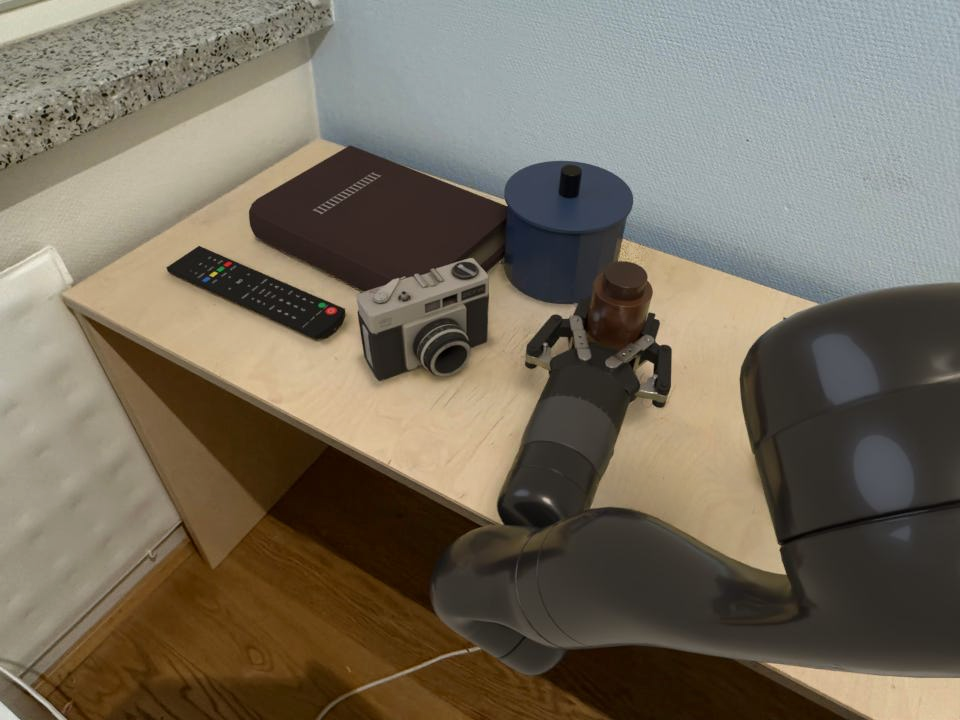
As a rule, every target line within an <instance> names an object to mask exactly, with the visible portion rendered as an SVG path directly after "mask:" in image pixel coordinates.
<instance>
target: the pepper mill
mask: <svg viewBox="0 0 960 720" xmlns="http://www.w3.org/2000/svg"><path fill="white" fill-rule="evenodd" d="M648 276H649V275H648V273H647V271H646V269H645V268H644V267H642V266H641V265H639V264H637V263H635V262H631V261H625V260H620V261H619V260H618V262H614V263H611V264H609V265H608V266H607V267H606V268H605V271H604V272H603V273H601V274H600V275H598V276H597V277H596V279H595V280H594V283H593V288H592V294H591V299H590V305H589V310H588V316H587V321H586V327H585V331H586V335H587V340H588V343H589V342H591V343H595V344H598V345H600V346H602V347H604V348H611V349H616V350H619V351H620V350H622V349H623V348H624V347H626V346H627V345H628V344H630V343H633V344H634V343H635V342H636V341H637V340H639V339H640V337H641V333H642V330H643V328H644V325H645V322H646V319H647V316H648V313H649V309H650V305H651V302H652V299H653V295H654V290H653V287H652V284H651V283H650V281H649V280H648V279H649V277H648Z"/></svg>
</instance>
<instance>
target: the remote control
mask: <svg viewBox="0 0 960 720" xmlns="http://www.w3.org/2000/svg"><path fill="white" fill-rule="evenodd" d="M165 268H166V270H167V272H168V273H169V274H170V275H173V276H176V277H177V278H180V279H181V280H184V281H186V282H189V283H190V284H193V285H195V286H197V287H199V288H201V289H204V290H205V291H208V292H211V293H212V294H213V295H217V296H219V297H221V298H223V299H226V300H228V301H230V302H231V303H235V305H236V304H237V305H238V306H241V307H242V308H245V309H247V310H249V311H252V312H254V313H256V314H258V315H260V316H262V317H265V318H267V319H269V320H271V321H273V322H275V323H277V324H279V325H282V326H284V327H286V328H288V329H290V330H293V331H294V332H296V333H299V334H302V335H303V336H306V337H308V338H310V339H311V340H315V341H319V340H320V341H321V340H324V339H328V338H329V337H331V336H333V335H334V334H336V332H337V331H338V330H339V329H340V328H341V326H342V325H343V322H344V318H345V316H346V309H345V308H344V307H342V306H340V305H337V304H336V303H333V302H330V301H328V300H326V299H323V298H321V297H319V296H316V295H313V294H312V293H309V292H307V291H304V290H303V289H300V288H298V287H295V286H294V285H290V284H288V283H286V282H284V281H281V280H280V279H277V278H274V277H273V276H270V275H268V274H265V273H263V272H261V271H259V270H257V269H253V268H251V267H249V266H247V265H244V264H242V263H240V262H238V261H235V260H233V259H230V258H228V257H226V256H223V255H221V254H220V253H217V252H214V251H212V250H209V249H207V248H205V247H202V245H201V246H200V245H197V247H195V248H193V249H192V250H190V251H188V253H186V254H184V255H183V256H181V257H180V258H179V259H176V260H175V261H174V262H172V263H171V264H170V265H168V266H166V267H165Z"/></svg>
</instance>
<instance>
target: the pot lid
mask: <svg viewBox="0 0 960 720" xmlns="http://www.w3.org/2000/svg"><path fill="white" fill-rule="evenodd" d="M503 192H504V193H503V195H504V196H503V197H504V201H505V204H506V206H508V207H509V208H510V210H511V211H512V212H513V213H514V214H515V215H516V216H518V217H519V218H520V219H522V220H523V221H525V222H527V223H529V224H531V225H533V226H536V227H539V228H541V229H545V230H549V231H553V232H559V233H568V234H584V233H593V232H598V231H603V230H606V229H609V228H611V227H614V226H616V225H617V224H619V223H621V222H622V221H623V220H624V219H626V218H627V219H628V216H629V215H630V214H631V212H632V210H633V206H634V194H633V191H632V189H631V188H630V185H628V183H627V182H626V181H624V180H623V179H622V178H621V177H620V176H618V175H616V174H615V173H613V172H612V171H610V170H608V169H605V168H603V167H600V166H598V165H595V164H590V163H586V162H582V161H581V162H580V161H572V160H551V161H550V160H549V161H543V162H542V161H541V162H537V163H534V164H530V165H527V166H525V167H523V168H521V169H519V170H517V171H516V172H515V173H513V174H512V175H511V176H510V177H509V178H508V180H507V181H506V184H505V186H504V191H503Z"/></svg>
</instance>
